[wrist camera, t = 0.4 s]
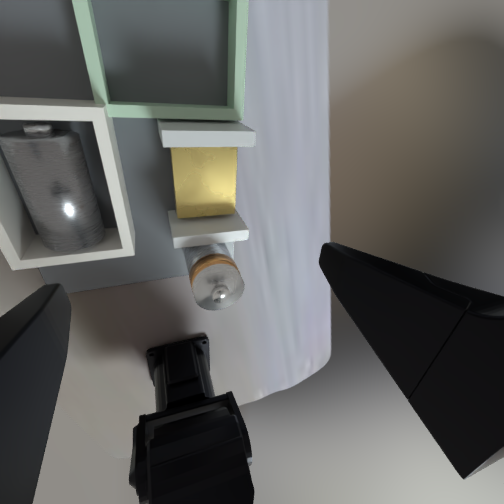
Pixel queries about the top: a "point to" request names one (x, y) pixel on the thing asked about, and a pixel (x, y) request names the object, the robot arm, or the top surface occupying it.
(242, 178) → the top surface
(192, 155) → the plate
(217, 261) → the cell
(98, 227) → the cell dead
